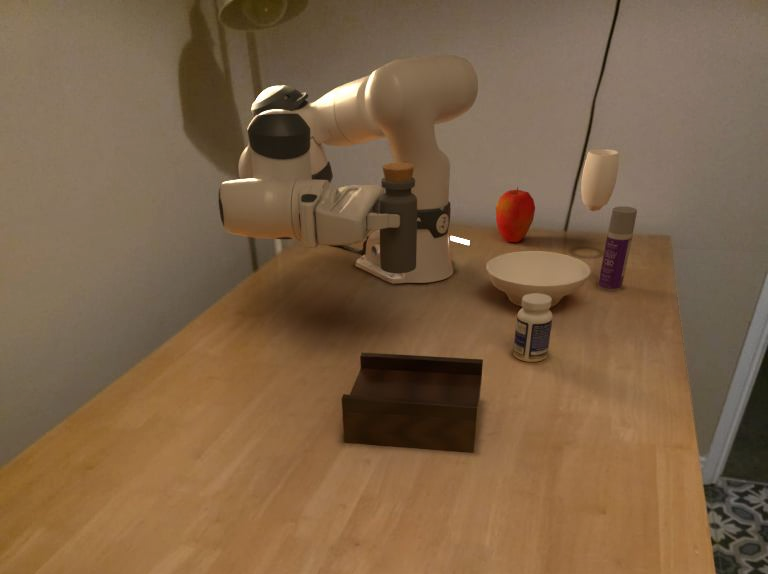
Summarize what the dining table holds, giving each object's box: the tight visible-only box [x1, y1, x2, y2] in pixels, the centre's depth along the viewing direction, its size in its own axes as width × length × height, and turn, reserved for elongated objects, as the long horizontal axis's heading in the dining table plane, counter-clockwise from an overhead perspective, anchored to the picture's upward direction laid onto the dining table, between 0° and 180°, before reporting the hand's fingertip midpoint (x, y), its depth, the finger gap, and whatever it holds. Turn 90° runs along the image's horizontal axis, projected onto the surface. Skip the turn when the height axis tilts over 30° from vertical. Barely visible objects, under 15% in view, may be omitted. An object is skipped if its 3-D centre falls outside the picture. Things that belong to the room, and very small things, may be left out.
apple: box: [495, 187, 536, 243], centre depth 157 cm, size 9×9×12 cm
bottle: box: [379, 162, 417, 273], centre depth 104 cm, size 6×6×15 cm
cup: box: [580, 148, 620, 213], centre depth 147 cm, size 7×7×21 cm
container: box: [597, 206, 638, 292], centre depth 132 cm, size 5×5×15 cm
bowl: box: [485, 250, 592, 307], centre depth 129 cm, size 20×20×7 cm
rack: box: [341, 351, 484, 453], centre depth 95 cm, size 18×14×7 cm
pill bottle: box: [513, 293, 553, 363], centre depth 110 cm, size 6×6×10 cm
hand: (404, 213), depth 103 cm, fingers closed on bottle, 6 cm apart
